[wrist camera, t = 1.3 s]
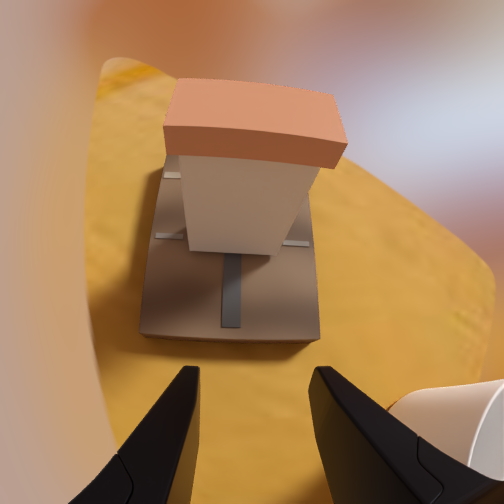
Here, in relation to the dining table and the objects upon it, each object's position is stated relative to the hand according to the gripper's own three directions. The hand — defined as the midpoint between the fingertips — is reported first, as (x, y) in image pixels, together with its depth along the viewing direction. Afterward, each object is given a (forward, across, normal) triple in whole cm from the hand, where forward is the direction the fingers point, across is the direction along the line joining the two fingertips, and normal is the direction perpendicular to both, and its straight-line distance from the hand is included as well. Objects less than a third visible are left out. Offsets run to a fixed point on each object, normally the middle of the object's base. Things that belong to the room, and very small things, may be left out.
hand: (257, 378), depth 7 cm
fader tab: (+14, 0, +1) cm, 14 cm away
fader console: (+17, 0, +2) cm, 17 cm away
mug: (+4, -16, +15) cm, 22 cm away
